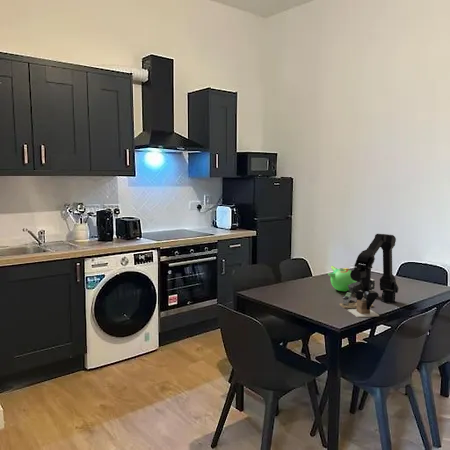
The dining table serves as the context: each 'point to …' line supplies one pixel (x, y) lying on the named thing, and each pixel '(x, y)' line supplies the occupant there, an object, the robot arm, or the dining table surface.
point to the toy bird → (341, 278)
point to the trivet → (362, 314)
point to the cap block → (362, 307)
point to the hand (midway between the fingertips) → (363, 306)
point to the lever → (347, 298)
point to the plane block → (350, 305)
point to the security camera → (372, 285)
